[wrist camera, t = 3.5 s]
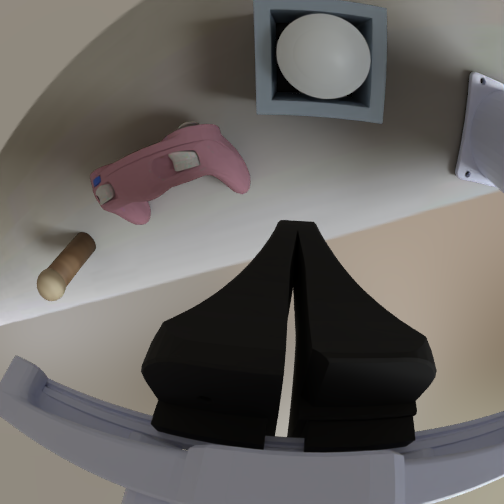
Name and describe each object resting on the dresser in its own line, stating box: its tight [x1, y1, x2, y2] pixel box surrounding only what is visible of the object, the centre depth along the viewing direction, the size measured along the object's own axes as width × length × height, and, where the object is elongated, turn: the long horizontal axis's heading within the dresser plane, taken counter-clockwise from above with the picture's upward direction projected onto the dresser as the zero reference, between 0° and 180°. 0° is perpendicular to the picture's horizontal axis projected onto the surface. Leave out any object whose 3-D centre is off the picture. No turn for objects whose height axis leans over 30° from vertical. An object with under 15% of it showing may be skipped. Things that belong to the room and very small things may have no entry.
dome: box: [276, 14, 371, 99], centre depth 11 cm, size 4×4×4 cm
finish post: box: [37, 232, 96, 301], centre depth 22 cm, size 3×3×8 cm
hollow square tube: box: [253, 0, 387, 124], centre depth 12 cm, size 6×6×4 cm
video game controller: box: [90, 121, 250, 225], centre depth 17 cm, size 10×5×7 cm, turn 110°
